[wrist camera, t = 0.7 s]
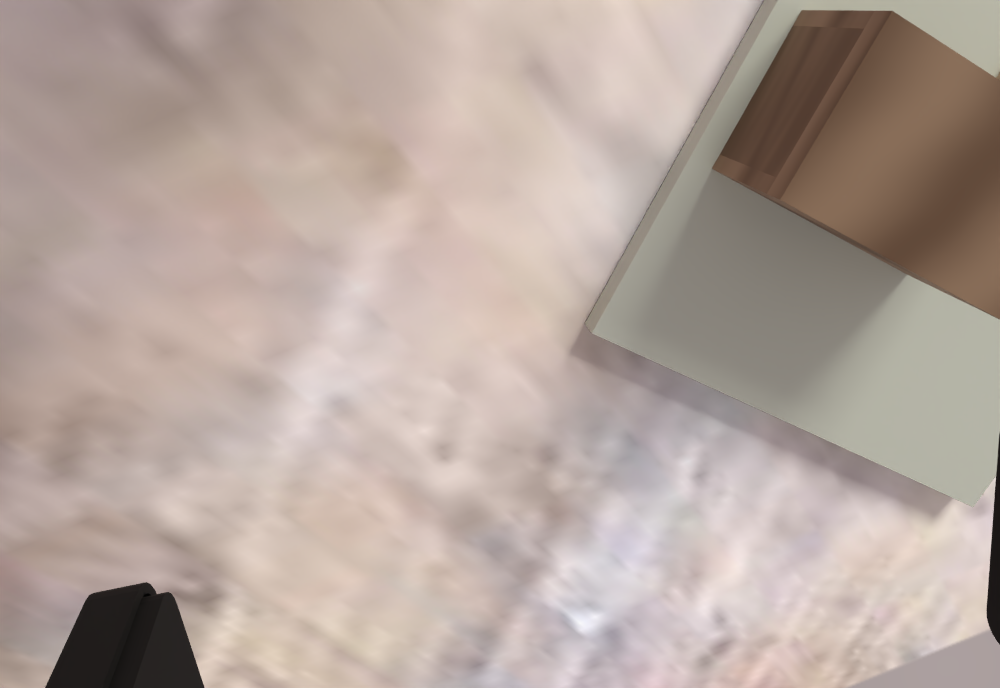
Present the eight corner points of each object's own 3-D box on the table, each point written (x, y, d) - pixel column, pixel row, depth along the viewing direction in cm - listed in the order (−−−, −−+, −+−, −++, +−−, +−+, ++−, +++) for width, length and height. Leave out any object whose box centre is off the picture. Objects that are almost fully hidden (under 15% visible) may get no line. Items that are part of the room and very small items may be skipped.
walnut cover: (711, 168, 34) (780, 199, 29) (801, 10, 33) (892, 10, 27) (907, 274, 37) (1004, 321, 32) (999, 133, 36) (1118, 156, 30)
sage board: (948, -333, 31) (970, -346, 29) (1327, -25, 36) (1358, -26, 35) (584, 323, 37) (591, 333, 36) (957, 494, 43) (973, 507, 42)
